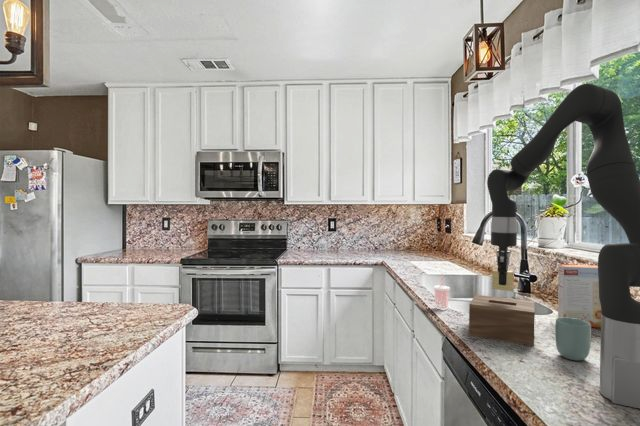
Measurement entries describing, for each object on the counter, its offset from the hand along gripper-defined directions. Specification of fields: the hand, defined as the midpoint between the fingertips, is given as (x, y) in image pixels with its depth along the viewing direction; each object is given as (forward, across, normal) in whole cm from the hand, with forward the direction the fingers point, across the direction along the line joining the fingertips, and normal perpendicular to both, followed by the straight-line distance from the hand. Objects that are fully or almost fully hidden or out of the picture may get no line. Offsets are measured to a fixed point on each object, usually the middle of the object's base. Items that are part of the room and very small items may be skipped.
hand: (502, 284), depth 120 cm
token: (+2, 0, 0) cm, 2 cm away
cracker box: (+16, +25, -24) cm, 38 cm away
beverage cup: (+16, +19, +23) cm, 34 cm away
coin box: (+16, 0, 0) cm, 16 cm away
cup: (+16, -12, -18) cm, 27 cm away
